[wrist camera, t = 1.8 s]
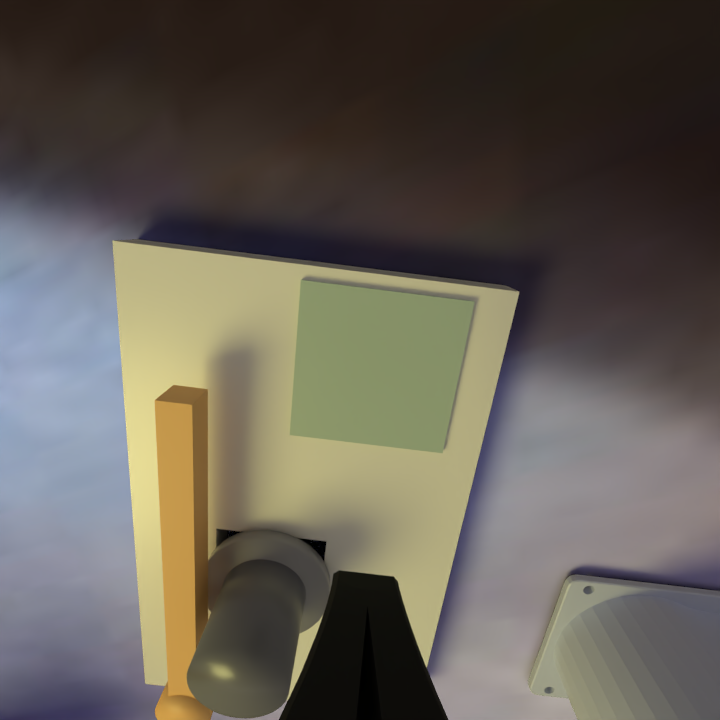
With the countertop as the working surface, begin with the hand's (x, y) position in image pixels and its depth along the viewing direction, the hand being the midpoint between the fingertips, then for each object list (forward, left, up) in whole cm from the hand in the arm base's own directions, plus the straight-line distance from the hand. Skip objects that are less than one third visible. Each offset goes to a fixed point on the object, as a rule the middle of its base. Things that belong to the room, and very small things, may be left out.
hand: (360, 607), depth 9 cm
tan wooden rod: (+6, +6, -6) cm, 11 cm away
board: (+2, +5, -9) cm, 10 cm away
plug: (+3, +8, -9) cm, 12 cm away
